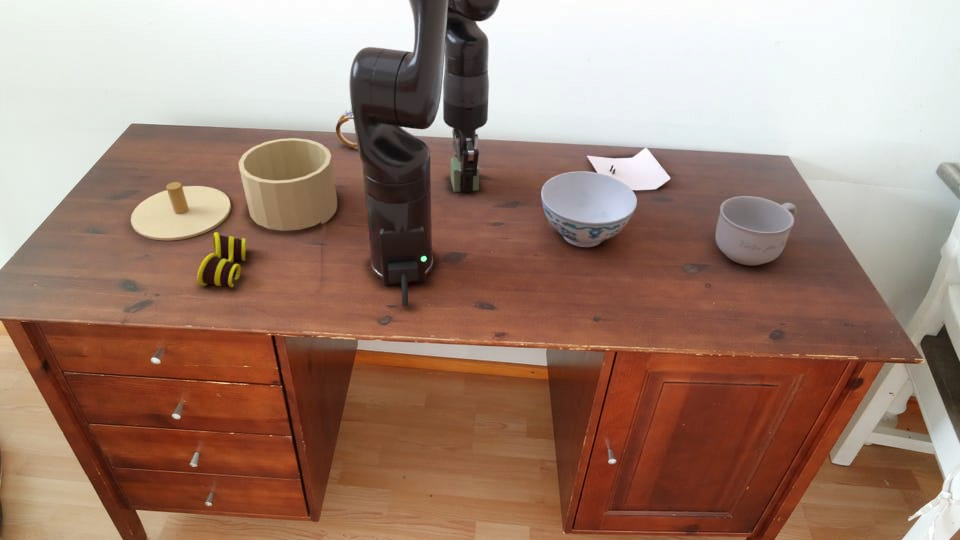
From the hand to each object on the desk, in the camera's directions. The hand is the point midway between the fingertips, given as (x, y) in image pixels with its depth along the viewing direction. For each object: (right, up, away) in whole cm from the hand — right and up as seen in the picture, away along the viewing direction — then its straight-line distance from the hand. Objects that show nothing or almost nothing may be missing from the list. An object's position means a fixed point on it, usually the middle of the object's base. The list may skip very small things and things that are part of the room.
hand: (464, 183), depth 119 cm
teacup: (+47, -13, -13) cm, 50 cm away
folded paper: (+31, +2, +5) cm, 31 cm away
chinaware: (+20, -10, -11) cm, 25 cm away
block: (0, 0, 0) cm, 0 cm away
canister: (-29, -5, -7) cm, 30 cm away
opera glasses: (-35, -16, -21) cm, 44 cm away
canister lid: (-47, -6, -10) cm, 48 cm away
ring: (-21, +8, +10) cm, 25 cm away
